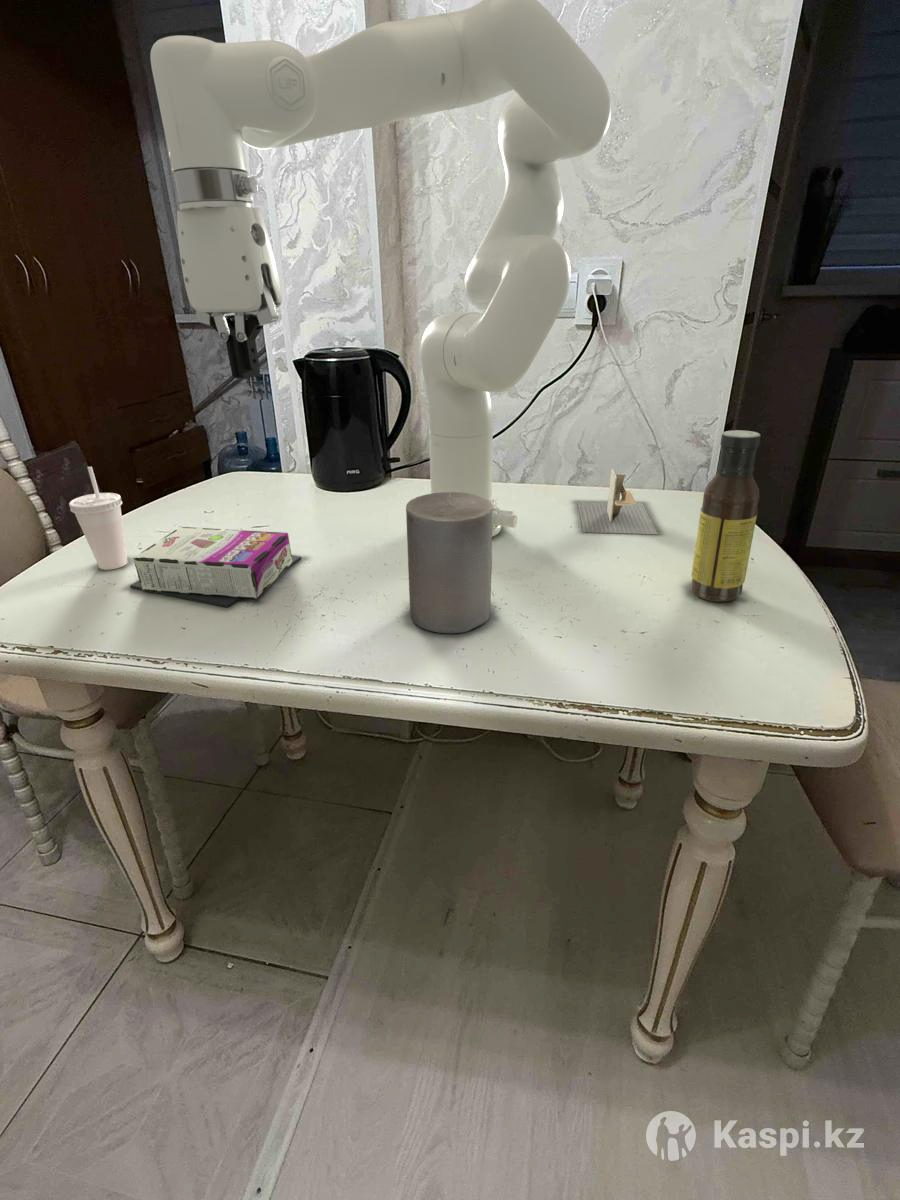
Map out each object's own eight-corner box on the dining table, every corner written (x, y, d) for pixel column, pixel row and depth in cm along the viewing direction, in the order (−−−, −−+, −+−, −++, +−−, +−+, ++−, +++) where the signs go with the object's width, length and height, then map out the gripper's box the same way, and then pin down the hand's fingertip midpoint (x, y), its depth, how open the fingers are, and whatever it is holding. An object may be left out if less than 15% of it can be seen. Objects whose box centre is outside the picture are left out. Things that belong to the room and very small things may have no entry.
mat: (301, 558, 90) (301, 556, 90) (227, 607, 77) (227, 604, 77) (213, 544, 96) (212, 542, 95) (130, 587, 82) (129, 585, 82)
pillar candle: (413, 595, 79) (408, 480, 72) (490, 596, 79) (492, 480, 72) (406, 634, 70) (399, 508, 64) (492, 635, 70) (495, 507, 63)
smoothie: (147, 559, 91) (123, 464, 84) (109, 576, 86) (80, 477, 79) (116, 552, 93) (90, 460, 87) (78, 569, 88) (47, 471, 82)
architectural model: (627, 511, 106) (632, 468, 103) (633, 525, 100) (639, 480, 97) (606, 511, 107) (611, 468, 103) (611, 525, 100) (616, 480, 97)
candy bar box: (294, 565, 87) (188, 556, 90) (289, 531, 85) (180, 524, 88) (257, 602, 78) (139, 591, 81) (250, 566, 75) (130, 555, 78)
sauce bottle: (746, 589, 79) (782, 431, 70) (733, 608, 75) (770, 442, 66) (695, 577, 83) (722, 425, 74) (680, 595, 78) (707, 435, 69)
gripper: (294, 192, 66) (317, 373, 75) (185, 202, 71) (218, 370, 80) (249, 185, 60) (280, 383, 69) (133, 196, 65) (175, 380, 74)
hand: (246, 376), depth 74 cm, fingers closed
